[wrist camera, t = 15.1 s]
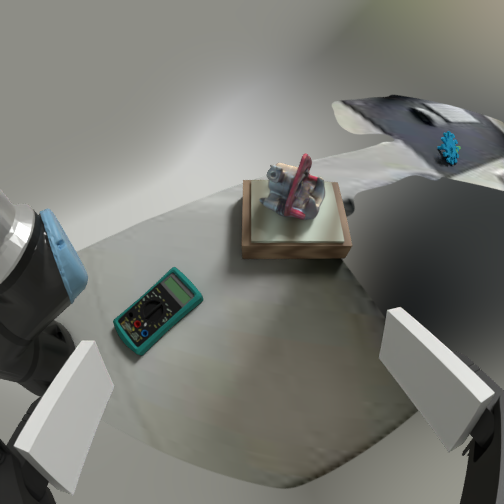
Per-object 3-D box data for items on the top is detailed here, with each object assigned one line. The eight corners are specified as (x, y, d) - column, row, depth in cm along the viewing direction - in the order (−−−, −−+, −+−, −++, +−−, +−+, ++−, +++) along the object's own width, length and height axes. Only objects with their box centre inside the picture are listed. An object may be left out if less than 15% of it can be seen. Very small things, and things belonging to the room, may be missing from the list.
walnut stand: (242, 258, 47) (241, 243, 43) (243, 195, 54) (243, 178, 50) (344, 258, 47) (353, 243, 43) (332, 197, 54) (338, 180, 50)
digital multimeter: (115, 326, 41) (107, 322, 39) (178, 270, 47) (174, 263, 44) (140, 359, 39) (133, 356, 36) (206, 299, 44) (203, 293, 42)
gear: (446, 163, 60) (442, 129, 57) (431, 163, 65) (427, 130, 62) (463, 165, 62) (460, 133, 60) (449, 164, 68) (446, 134, 65)
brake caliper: (326, 234, 41) (288, 173, 34) (270, 237, 48) (230, 186, 42) (343, 185, 46) (313, 128, 39) (293, 193, 53) (260, 144, 46)
